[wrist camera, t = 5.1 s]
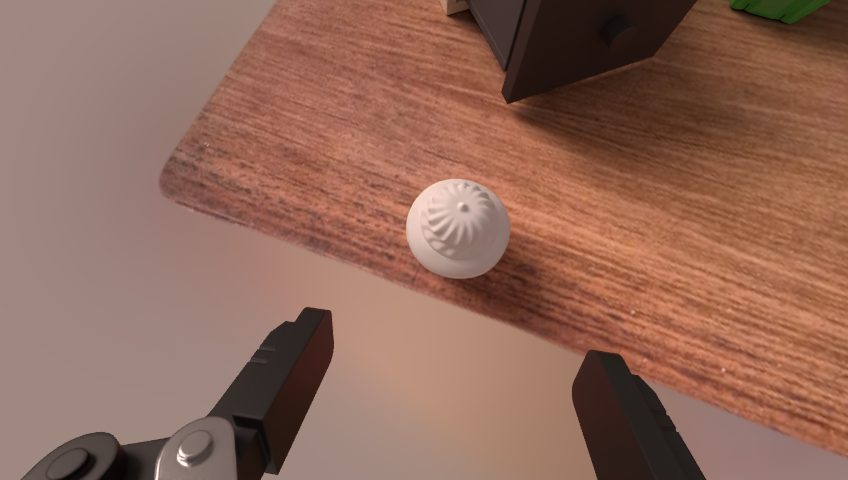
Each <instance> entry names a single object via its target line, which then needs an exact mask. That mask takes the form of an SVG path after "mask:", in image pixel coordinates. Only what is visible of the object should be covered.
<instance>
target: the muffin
mask: <svg viewBox="0 0 848 480" xmlns="http://www.w3.org/2000/svg"><path fill="white" fill-rule="evenodd" d="M406 235H407V240H408V243H409V246H410V249H411V251H412V253H413V254H414V256H415V257H416V259H417V260H418V261H419V262H420V263H421V264H422V265H423V266H424V267H425V268H427V269H428V270H430V271H431V272H433V273H435V274H437V275H440V276H443V277H448V278H455V279H464V278H472V277H476V276H479V275H482V274H484V273H486V272H487V271H489V270H490V269H492V268H493V267H494V266H495V265H496V264H497V262H498V261H499V260H500V258H501V257H502V255H503V254H504V252H505V250H506V247H507V245H508V242H509V237H510V222H509V217H508V213H507V211H506V209H505V206H504V205H503V203H502V202H501V200H500V199H499V198H498V197H497V196H496V195H495V194H494V193H493V192H492V191H491V190H489V189H488V188H486V187H484V186H482V185H480V184H478V183H476V182H473V181H470V180H465V179H448V180H444V181H440V182H437V183H435V184H433V185H431V186H429V187H428V188H426V189H425V190H424V191H423V192H422V193H421V194H420V195H419V196H418V197H417V199H416V200H415V202H414V203H413V205H412V207H411V209H410V211H409V214H408V218H407V223H406Z"/></svg>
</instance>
